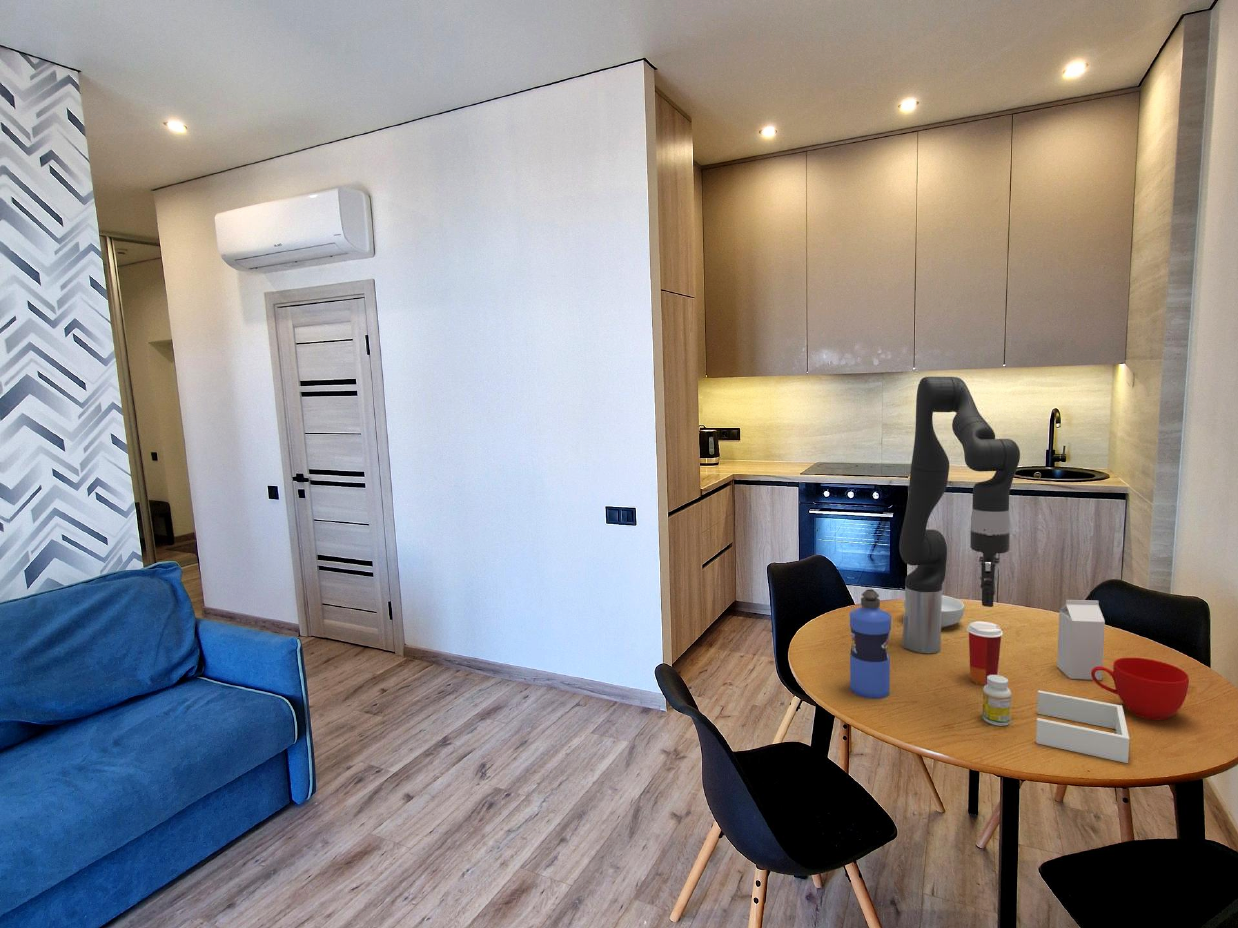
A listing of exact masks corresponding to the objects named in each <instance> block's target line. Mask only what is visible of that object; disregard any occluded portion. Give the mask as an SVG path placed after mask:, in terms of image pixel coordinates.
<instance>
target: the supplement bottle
mask: <svg viewBox="0 0 1238 928" xmlns="http://www.w3.org/2000/svg"><path fill="white" fill-rule="evenodd" d="M982 691H983V692H982V719H983V720H984V721H985V722H987V723H988V724H990V725H994V726H996V727H997V726H998V727H1004V726H1008V725H1010V723H1011V715H1012V714H1011V713H1012V712H1011V711H1012V692H1011V689H1009V679H1008V678H1006V677H1005V676H1002V675H999V674H997V675H989V676H987V685H983V689H982Z"/></svg>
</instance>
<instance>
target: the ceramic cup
mask: <svg viewBox="0 0 1238 928" xmlns="http://www.w3.org/2000/svg"><path fill="white" fill-rule="evenodd" d="M1112 664H1113V667H1112V670H1111V669H1109V668H1107V667H1105V666H1097V667H1094V668H1093V669H1092V671H1091V676H1092V678H1093V682H1094V683H1095V684H1096V685H1097V686H1098V687H1100V688H1102V689H1104V690H1106V691H1107V692H1109V693H1112V694H1115V695H1117V696H1118V697H1119V699H1120V701H1121V702H1122V703H1123V705H1124V706H1125V707H1126V708H1127V709H1128V710H1129V711H1130V713H1132V714H1134V715H1136V716H1138V717H1140V718H1143V719H1148V720H1151V721H1152V720H1155V721H1163V720H1166V719H1168V718H1169V717H1171V716H1173V715H1174V714H1175V713H1176V712H1178V711H1179V710H1180V708H1182V706H1183V704H1184V702H1185V700H1186V697H1187V694H1188V690H1189V684H1190V677H1189V674H1188V673H1187V672H1186V671H1184V670H1183V669H1181V668H1179V667H1178V666H1175V665H1172V664H1170V663H1166V662H1163V661H1159V660H1155V659H1148V658H1144V657H1131V656H1130V657H1119V658H1117V659H1115V660H1114V661H1113V663H1112ZM1098 670H1102V672H1103V671H1104V672H1105V673H1107V674H1109V675H1110V677H1111V678H1112V680H1113V682H1114V688H1111V687H1110V686H1108V685H1105V684H1103V683H1102V682H1101V681H1100V680H1097V678H1096V677H1095V672H1096V671H1098Z"/></svg>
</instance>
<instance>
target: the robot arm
mask: <svg viewBox="0 0 1238 928" xmlns="http://www.w3.org/2000/svg"><path fill="white" fill-rule="evenodd" d="M915 399H916V400H915V401H916V403H915V430H914V432H915V433H914V442H913V449H912V457H911V458H912V459H911V464H910V470H909V471H910V474H909V482H908V483H909V485H908V486H909V487H908V493H907V494H908V495H907V500H906V509H905V514H904V518H903V524H902V527H901V531H900V532H901V533H900V537H899V545H898V550H899V554H900V557H901V559H902V561H903V562H904V563H905V564H906V565H908V566H917V567H915V569H914V570H913V571H912V572H910V573H908V574H907V575H906V577H905V580H904V581H905V582H904V583H905V584H904V587H905V589H904V594H905V595H904V598H905V609H904V613H903V616H902V617H903V618H902V648H903V649H908V650H909V651H911V652H916V653H919V654H935V653H939V652H940V651H941V645H942V628H941V608H942V595H943V583H944V581H945V579H946V575H947V574H946V571H947V561H948V559H947V558H948V545H947V542H946V541H947V540H946V539H945V536H944V535H943V534H942V533H941V532H940V531H939V530H937V529H927V525H928V522H929V518H930V516H931V514H932V512H933V511H934V509H935V507H936V506H937V504H938V503H939V502H940V500H941V499H942V497H943V496H944V493H945V492H946V489H947V486H948V482H949V474H950V466H951V465H950V460H949V458H948V455H947V453H946V451H945V449H944V448H943V446H942V444H941V442H940V441H939V439H938V437H937V434H936V432H935V429H934V422H933V416H934V413H956V414H955V415H954V416H953V419H952V423H951V426H952V431H953V434H954V436H955V437H956V438H957V440H958V442H960V444H961V445H962V449H963V455H964V457H963V458H964V462H965V464H966V466H967V468H969V469H970V470H971V471H975V472H983V473H984V472H994V475H993V476H992V477H991V478H990V479H988V480H983V481H979V482H977V483H975V484H974V485H973V489H972V508H971V509H972V510H971V516H970V542H969V543H970V549H971V550H972V551H975V552H978V553H982V556H980V555H979V559H978V567H979V573H978V574H979V580H981V581H980V586H979V587H980V590H981V605H982V607H988V608H993V607H994V601H995V600H994V596H995V592H996V582H997V581H998V574H999V569H1000V558H999V557H997V554H999V555H1001V554H1006V553H1008V552H1009V551H1010V535H1011V533H1010V532H1011V530H1010V528H1011V520H1010V519H1011V518H1010V511H1009V510H1010V491H1011V487H1012V485H1013V481H1014V478H1015V474H1016V473H1017V469H1018V467H1019V464H1020V459H1021V451H1020V448H1019V445H1018V444H1017V443H1016V441H1014V440H1013V439H1010V438H996V433H995V432H994V429H993V427H991V425H990V424H989V422H987V421H986V419H985V418H983V416H982V415H981V413H980V412H979V410H978V407H977V406H976V402H975V401H974V398H973V396H972V394H971V392H970V389H969V388H968V386H967V383H965V381H964V380H963V379H962V378H960V377H958V376H924V377H922V378H921V379H920V381H919V383H918V386H917V390H916V397H915Z"/></svg>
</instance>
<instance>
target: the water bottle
mask: <svg viewBox="0 0 1238 928" xmlns="http://www.w3.org/2000/svg"><path fill="white" fill-rule="evenodd" d="M861 596H862V597H861V598H860V605H861V606H860V607H857V608H856V609H855V608H854V609H852V610H851V611H850V612H849V628H850V634H851V648H850V653H849V689H850V692H852V693H853V694H855V695H856V696H859V697H862V698H865V699H874V700H875V699H883V698H886V697H888V696H890V692H891V691H890V690H891V688H890V687H891V685H890V684H891V681H890V680H891V678H890V677H891V657H890V656H891V655H890V649H889V642H890V634H891V630H892V615H891V613H888V612H887V611H885V610H883V609H881V608H880V606H881V603H880V602H881V600H880V598H879V597H880V595H879V593H878V592H877V591H875V589H870V588H869V589H866V590H865V591H863V592H862V593H861Z"/></svg>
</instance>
